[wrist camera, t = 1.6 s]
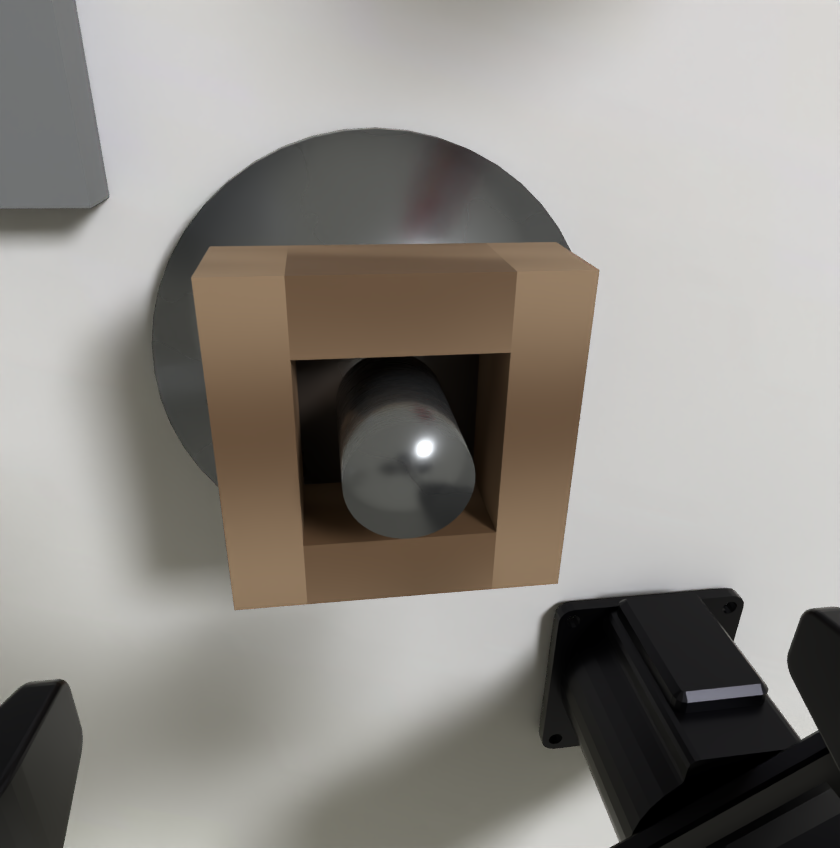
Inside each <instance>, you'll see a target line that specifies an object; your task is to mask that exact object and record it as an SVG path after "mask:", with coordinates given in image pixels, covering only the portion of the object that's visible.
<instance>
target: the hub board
mask: <svg viewBox="0 0 840 848" xmlns="http://www.w3.org/2000/svg"><path fill="white" fill-rule="evenodd" d="M107 198H109V192H108V186H107V180H106V174H105V169H104V163H103V157H102V152H101V146H100V140H99V134H98V129H97V123H96V117H95V111H94V106H93V100H92V94H91V88H90V83H89V77H88V71H87V66H86V60H85V54H84V48H83V43H82V37H81V31H80V25H79V20H78V14H77V8H76V3H75V0H0V208H92V207H93V206H95V205H97V204H99V203H100V202H102V201H104V200H105V199H107Z"/></svg>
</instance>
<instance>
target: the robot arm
mask: <svg viewBox="0 0 840 848" xmlns="http://www.w3.org/2000/svg"><path fill="white" fill-rule="evenodd" d="M725 604H726V605H725ZM743 606H744V602H743V600H742V598H741V597H740V596H739V595H738V594H737V592H736V591H735V590H733V589H729V588H724V589H712V590H701V591H689V592H678V593H666V594H654V595H643V596H631V597H620V598H608V599H597V600H585V601H573V602H568V603H564V604H563V605H561V606H560V607H559V608H558V609H557V610H556V612H555V615H554V623H553V630H552V637H551V645H550V652H549V660H548V667H547V675H546V682H545V690H544V697H543V705H542V712H541V720H540V727H539V735H540V738H541V741H542V743H543V745H544V746H545V747H547V748H552V749H555V748H563V747H572V746H580V747H581V749H582V752H583V754H584V757H585V759H586V762H587V764H588V766H589V769H590V771H591V774H592V776H593V779H594V781H595V784H596V786H597V788H598V791H599V793H600V796H601V798H602V801H603V803H604V806H605V808H606V811H607V813H608V815H609V818H610V820H611V823H612V825H613V828H614V830H615V833H616V835H617V837H618V840H619V843H617V844H616V845H614V846H612V847H610V848H840V608H839V607H824V608H813V609H809V610H806V611H805V612H804V613H803V614H802V616H801V618H800V621H799V623H798V626H797V629H796V632H795V635H794V638H793V640H792V643H791V646H790V649H789V652H788V656H787V663H788V669H789V672H790V675H791V677H792V679H793V681H794V683H795V685H796V687H797V689H798V691H799V693H800V695H801V697H802V699H803V701H804V703H805V705H806V707H807V708H808V710H809V712H810V714H811V716H812V718H813V720H814V722H815V724H816V726H817V728H818V731H816V732H814V733H812V734H811V735H809V736H807V737H805V738H804V739H802V740H801V739H800V737H799V736H798V735H797V733H796V732H795V731H794V729H793V728H792V727H791V725H790V724H789V722H788V721H787V720H786V718H785V717H784V716H783V714H782V713H781V712H780V710H779V709H778V708H777V706H776V705H775V704H774V702H773V701H772V700H771V698H770V697H769V696H768V694H767V692H768V687H767V685H766V684H765V682H764V681H763V680H762V678H761V677H760V676H759V674H758V673H757V672H756V670H755V669H754V668H753V666H752V665H751V664H750V663H749V661H748V660H747V659H746V657H745V656H744V655H743V653H742V652H741V651H740V649H739V648H738V647H737V645H736V644H735V643H734V638H735V634H736V631H737V627H738V624H739V620H740V617H741V613H742V610H743ZM572 616H574V617H573V618H572V619H568V618H569V617H572ZM567 619H568V620H567ZM82 743H83V735H82V728H81V724H80V721H79V717H78V714H77V710H76V707H75V703H74V700H73V696H72V693H71V689H70V687H69V685H68V683H67V682H66V681H64V680H61V679H55V680H45V681H34V682H29V683H26V684H24V685H23V686H21V687H20V688H18V689H17V690H16V691H15V692H14V693H13V694H12V695H11V696H10V697H9V698H8V699H7V700H6V701H5V702H3V703H2V704H1V705H0V848H63V846H64V841H65V836H66V831H67V825H68V820H69V815H70V810H71V805H72V799H73V794H74V789H75V784H76V779H77V773H78V768H79V763H80V758H81V752H82Z"/></svg>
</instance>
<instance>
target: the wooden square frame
mask: <svg viewBox="0 0 840 848" xmlns="http://www.w3.org/2000/svg"><path fill="white" fill-rule="evenodd" d="M598 277H599V269H597V268H595V267H594V266H592V265H591V264H589V263H588V262H586V261H585V260H583V259H582V258H580V257H578V256H577V255H575V254H574V253H572V252H571V251H569V250H568V249H566V248H565V247H563V246H562V245H560V244H558V243H557V242H526V243H447V244H368V245H288V246H210V247H209V249H208V250H207V252H206V254H205V255H204V257H203V259H202V260H201V262H200V264H199V265H198V267H197V269H196V270H195V272H194V274H193V275H192V277H191V280H192V288H193V296H194V303H195V311H196V319H197V326H198V334H199V342H200V349H201V357H202V365H203V372H204V380H205V388H206V395H207V403H208V411H209V418H210V426H211V433H212V441H213V449H214V456H215V464H216V472H217V479H218V487H219V495H220V502H221V510H222V518H223V525H224V533H225V541H226V548H227V556H228V564H229V571H230V579H231V587H232V594H233V602H234V610H243V609H255V608H267V607H279V606H291V605H303V604H315V603H328V602H340V601H352V600H364V599H376V598H388V597H400V596H412V595H425V594H437V593H449V592H461V591H473V590H485V589H497V588H509V587H522V586H534V585H546V584H558V578H559V570H560V563H561V555H562V548H563V540H564V533H565V525H566V518H567V510H568V502H569V495H570V487H571V480H572V472H573V465H574V457H575V450H576V442H577V435H578V427H579V420H580V412H581V405H582V397H583V390H584V382H585V375H586V367H587V360H588V352H589V345H590V337H591V330H592V322H593V315H594V307H595V299H596V292H597V284H598ZM457 354H479V370H478V387H477V404H476V421H475V438H474V455H473V463H474V467H475V486H474V490H473V493H472V496H471V498H470V500H469V502H468V504H467V506H466V507H465V509H464V510H463V511H462V512H461V514H460V515H459V516H458V517H457V518H456V519H455V520H453V521H452V522H451V523H450V524H448V525H447V526H445V527H444V528H442V529H440V530H438V531H436V532H434V533H431V534H428V535H426V536H421V537H417V538H409V539H399V538H391V537H386V536H382V535H379V534H377V533H374V532H372V531H370V530H369V529H367V528H366V527H364V526H363V525H361V524H360V523H359V522H358V521H357V520H356V519H355V518H354V517H353V515H352V514H351V512H350V511H349V509H348V507H347V505H346V503H345V500H344V496H343V489H342V482H338V483H321V484H304V477H303V462H302V447H301V432H300V417H299V402H298V387H297V372H296V360H314V359H342V358H371V357H400V356H428V355H457Z"/></svg>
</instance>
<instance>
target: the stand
mask: <svg viewBox="0 0 840 848" xmlns="http://www.w3.org/2000/svg"><path fill="white" fill-rule="evenodd" d="M526 242H557V243H558V244H560V245H562V246H563V247H565V248H566V249H568V250H569V251H571V250H570V248H569V246H568V245H567V243H566V241H565V239H564V237H563V235H562V233H561V231H560V229H559V228H558V226H557V225H556V223H555V222H554V221H553V219H552V218H551V217H550V215H549V214H548V212H547V211H546V210H545V208H544V207H543V206H542V204H541V203H540V202H539V201H538V200H537V199H536V198H535V197H534V196H533V195H532V194H531V193H530V192H529V191H528V190H527V189H526V188H525V187H524V186H523V185H522V184H521V183H520V182H519V181H517V180H516V179H515V178H514V177H512V176H511V175H510V174H508V173H507V172H506V171H504V170H503V169H502V168H500V167H499V166H498V165H496V164H494V163H493V162H491V161H489V160H487V159H486V158H484V157H482V156H480V155H478V154H477V153H475V152H473V151H471V150H469V149H467V148H464V147H462V146H459V145H457V144H454V143H451V142H449V141H446V140H444V139H441V138H438V137H435V136H431V135H426V134H422V133H417V132H413V131H409V130H400V129H388V128H376V127H374V128H358V129H343V130H338V131H333V132H328V133H323V134H319V135H314V136H310V137H307V138H305V139H302V140H299V141H296V142H294V143H291V144H288V145H285V146H283V147H281V148H279V149H277V150H275V151H273V152H271V153H269V154H267V155H266V156H264V157H262V158H260V159H258V160H256V161H254V162H253V163H252V164H250V165H249V166H247V167H246V168H245V169H243V170H242V171H241V172H239V173H238V174H237V175H235V176H234V177H232V178H231V179H230V180H229V181H228V182H227V183H226V184H224V185H223V186H222V187H221V188H220V189H219V190H218V191H217V192H216V193H215V194H214V195H213V196H212V197H211V198H210V199H209V200H208V201H207V202H206V204H205V205H204V206H203V207H202V209H201V210H200V211H199V213H198V214H197V215H196V217H195V218H194V219H193V220H192V222H191V223H190V224H189V226H188V227H187V228H186V230H185V231H184V233H183V235H182V237H181V238H180V240H179V242H178V244H177V246H176V248H175V249H174V251H173V253H172V255H171V257H170V259H169V262H168V264H167V267H166V270H165V273H164V275H163V278H162V281H161V284H160V286H159V291H158V296H157V301H156V306H155V311H154V317H153V335H152V349H153V360H154V371H155V376H156V380H157V384H158V388H159V393H160V397H161V400H162V403H163V405H164V408H165V410H166V413H167V415H168V418H169V420H170V423H171V425H172V427H173V428H174V430H175V432H176V434H177V436H178V437H179V439H180V441H181V443H182V444H183V446H184V448H185V449H186V450H187V452H188V453H189V454H190V456H191V457H192V458H193V460H194V461H195V462H196V464H197V465H198V466H199V468H200V469H201V470H202V471H203V472H204V473H205V474H206V475H207V476H208V477H209V478H210V479H211V480H212V481H213V482H214V483H215V484H216V485H217V486H218V479H217V472H216V464H215V456H214V449H213V441H212V433H211V426H210V418H209V411H208V403H207V395H206V388H205V380H204V372H203V365H202V357H201V349H200V342H199V334H198V326H197V319H196V311H195V303H194V296H193V288H192V280H191V277H192V275H193V274H194V272H195V270H196V269H197V267H198V265H199V264H200V262H201V260H202V259H203V257H204V255H205V254H206V252H207V250H208V249H209V247H210V246H288V245H368V244H447V243H526ZM478 370H479V354H457V355H428V356H400V357H371V358H342V359H314V360H296V372H297V387H298V402H299V417H300V432H301V447H302V462H303V477H304V484H321V483H338V482H342V489H343V496H344V500H345V503H346V505H347V507H348V509H349V511H350V512H351V514H352V515H353V517H354V518H355V519H356V520H357V521H358V522H359V523H360V524H361V525H363V526H364V527H366V528H367V529H369V530H370V531H372V532H374V533H377V534H379V535H382V536H386V537H391V538H399V539H409V538H417V537H421V536H426V535H428V534H431V533H434V532H436V531H438V530H440V529H442V528H444V527H445V526H447V525H448V524H450V523H451V522H452V521H453V520H455V519H456V518H457V517H458V516H459V515H460V514H461V512H462V511H463V510H464V509H465V507H466V506H467V504H468V502H469V500H470V498H471V496H472V493H473V490H474V486H475V467H474V463H473V455H474V438H475V421H476V404H477V387H478Z"/></svg>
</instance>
